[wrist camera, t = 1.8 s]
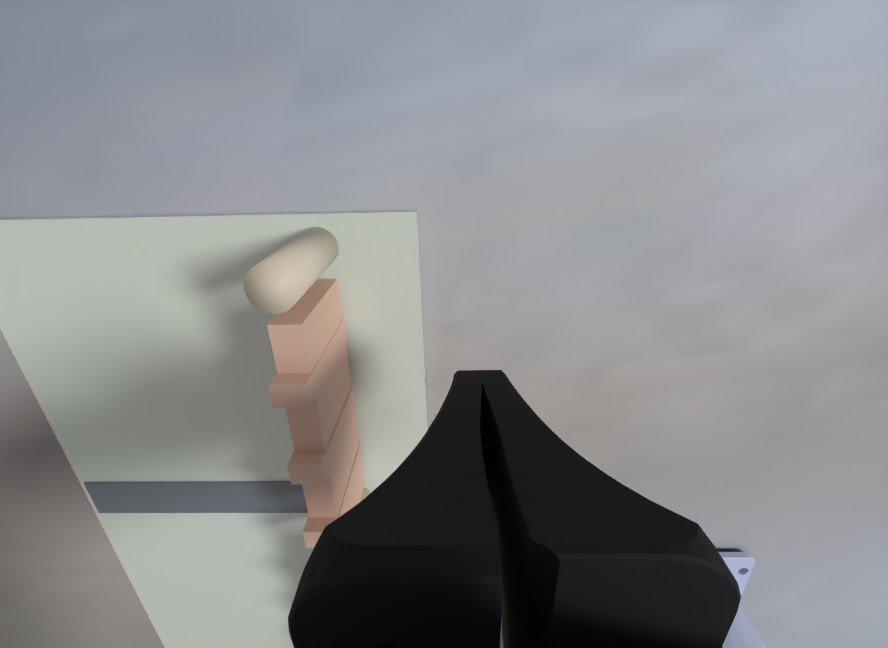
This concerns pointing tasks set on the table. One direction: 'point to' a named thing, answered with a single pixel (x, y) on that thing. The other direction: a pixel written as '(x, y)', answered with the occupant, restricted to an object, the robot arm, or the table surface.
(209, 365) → the card
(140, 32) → the table surface
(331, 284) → the fence panel
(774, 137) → the table surface
